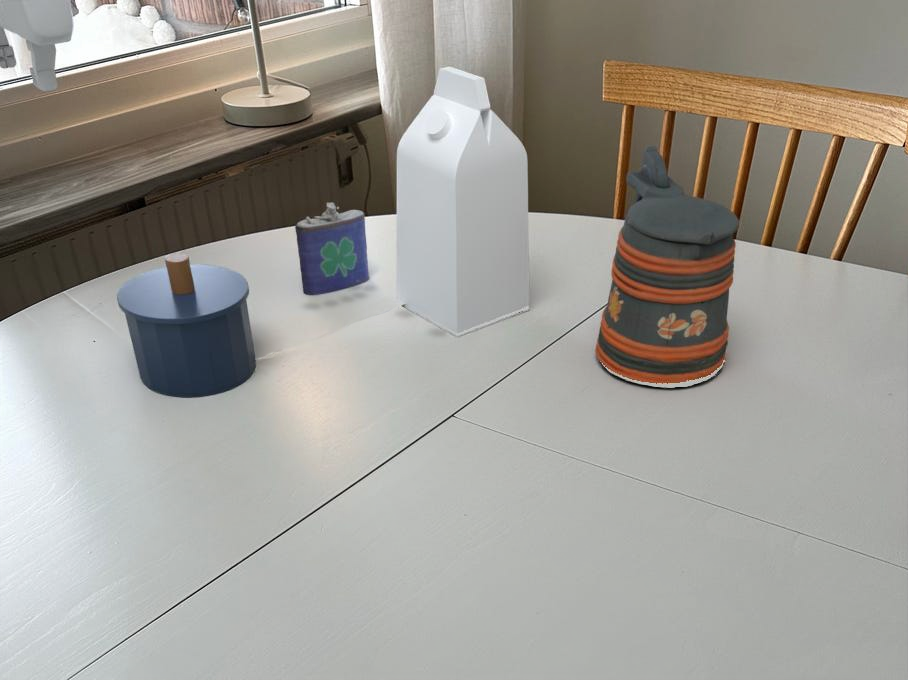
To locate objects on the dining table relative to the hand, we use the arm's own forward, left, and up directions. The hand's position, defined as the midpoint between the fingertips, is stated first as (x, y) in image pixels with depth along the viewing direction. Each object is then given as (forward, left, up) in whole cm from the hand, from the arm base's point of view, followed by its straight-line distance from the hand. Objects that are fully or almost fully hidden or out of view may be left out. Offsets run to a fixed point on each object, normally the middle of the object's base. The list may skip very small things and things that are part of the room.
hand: (25, 77), depth 99 cm
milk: (+20, +39, -28) cm, 52 cm away
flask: (+6, +30, -28) cm, 41 cm away
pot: (+13, +6, -28) cm, 31 cm away
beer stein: (+43, +48, -28) cm, 70 cm away
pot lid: (+13, +6, -19) cm, 24 cm away
